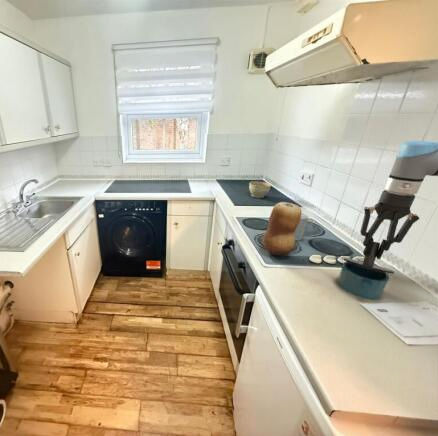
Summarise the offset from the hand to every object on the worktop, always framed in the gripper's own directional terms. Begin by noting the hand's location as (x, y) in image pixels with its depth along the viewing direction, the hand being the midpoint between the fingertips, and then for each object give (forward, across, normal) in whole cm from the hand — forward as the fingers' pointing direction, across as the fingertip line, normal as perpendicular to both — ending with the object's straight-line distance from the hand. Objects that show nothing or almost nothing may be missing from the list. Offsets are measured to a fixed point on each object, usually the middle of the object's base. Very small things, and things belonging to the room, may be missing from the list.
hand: (371, 255), depth 84 cm
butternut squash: (+15, -30, +11) cm, 35 cm away
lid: (+4, 0, -1) cm, 4 cm away
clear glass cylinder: (+15, -25, +36) cm, 46 cm away
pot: (+15, 0, 0) cm, 15 cm away
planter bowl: (+15, -56, +101) cm, 117 cm away
